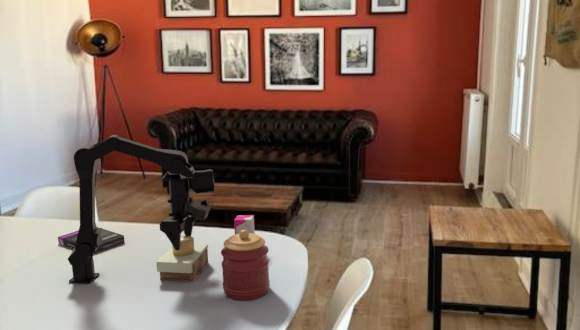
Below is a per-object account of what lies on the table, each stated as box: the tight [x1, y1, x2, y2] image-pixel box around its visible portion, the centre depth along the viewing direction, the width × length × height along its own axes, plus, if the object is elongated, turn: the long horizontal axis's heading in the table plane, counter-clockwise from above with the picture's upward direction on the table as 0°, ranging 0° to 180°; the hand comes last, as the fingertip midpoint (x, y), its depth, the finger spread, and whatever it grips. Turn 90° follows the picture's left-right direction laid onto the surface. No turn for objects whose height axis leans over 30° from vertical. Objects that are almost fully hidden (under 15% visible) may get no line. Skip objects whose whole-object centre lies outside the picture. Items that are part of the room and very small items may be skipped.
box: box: [57, 226, 125, 254], centre depth 192 cm, size 14×4×20 cm
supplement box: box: [233, 214, 256, 235], centre depth 181 cm, size 6×6×12 cm
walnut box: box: [159, 248, 209, 282], centre depth 166 cm, size 14×10×5 cm
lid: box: [156, 243, 209, 273], centre depth 165 cm, size 16×10×3 cm
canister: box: [220, 230, 271, 301], centre depth 150 cm, size 13×13×18 cm
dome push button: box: [171, 235, 195, 256], centre depth 164 cm, size 6×6×4 cm
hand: (183, 244), depth 164 cm, fingers open, 9 cm apart
